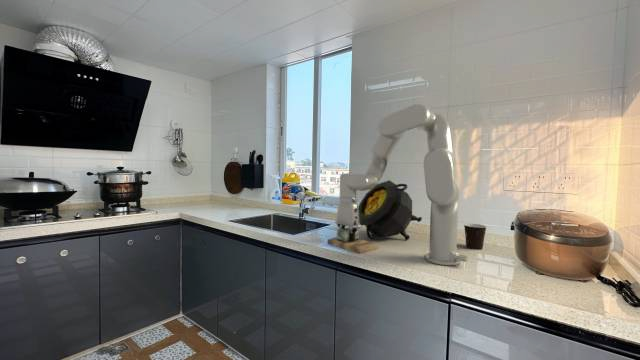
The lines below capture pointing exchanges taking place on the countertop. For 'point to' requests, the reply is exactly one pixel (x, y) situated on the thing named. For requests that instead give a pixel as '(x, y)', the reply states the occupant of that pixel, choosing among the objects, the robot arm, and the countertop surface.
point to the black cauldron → (386, 210)
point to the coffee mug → (474, 236)
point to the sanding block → (346, 234)
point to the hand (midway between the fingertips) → (347, 239)
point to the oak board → (354, 245)
